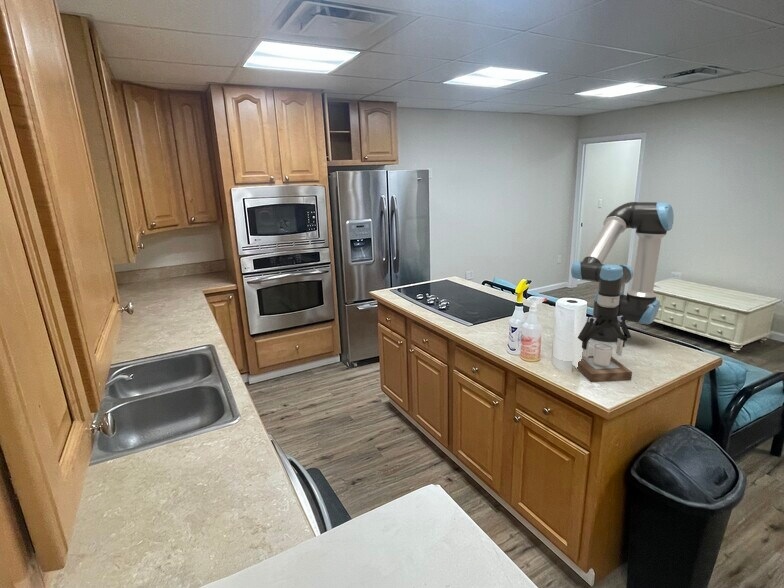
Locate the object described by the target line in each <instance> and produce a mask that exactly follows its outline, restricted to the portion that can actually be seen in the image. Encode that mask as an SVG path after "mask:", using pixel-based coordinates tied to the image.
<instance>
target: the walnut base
mask: <svg viewBox="0 0 784 588" xmlns="http://www.w3.org/2000/svg"><path fill="white" fill-rule="evenodd" d="M577 369H578V370H577ZM577 369H576V370H577V371H578V372H579V373H580V374H581V375H582V376H583V377H585V379H586V380H588V381H589V382H590V383H600V382H601V383H605V382H619V381H620V382H621V381H622V382H623V381H632V377H633V371H632V370H631V369H629V368H628V367H626V366H625V365H624V364H622V363H621V362H619V361H618V360H617V359H616V358H614V357H613V356H611V359H610V363H609V365H608V366H600V365H597V364H595V363H594V355H588V358H586V357H585V356H584V355H583V356H582V359H581V361H579V362H578V367H577Z"/></svg>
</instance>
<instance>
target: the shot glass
mask: <svg viewBox="0 0 784 588" xmlns="http://www.w3.org/2000/svg"><path fill="white" fill-rule="evenodd" d="M613 350H614V347H613V346H611V345H609V344H605V343H596V344H594V345H593V356H594V363H595V364H597V365H600V366H608V365H609V363H610V359H611V357H612V354H613Z"/></svg>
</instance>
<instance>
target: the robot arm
mask: <svg viewBox="0 0 784 588" xmlns="http://www.w3.org/2000/svg"><path fill="white" fill-rule="evenodd" d="M673 209H674V208H673V206H672V205H671V204H670V203H668V202H660V201H657V202H656V201H655V202H650V201H649V202H648V201H647V202H646V201H645V202H642V201H640V202H639V201H630V202H627V203H623V204H621V205H619V206H618V207H615V208H614V209H613V210H612V211H611V212H610V213H609V214H607V216H606V217H605V219H604V221H603V227H602V228H601V230H600V231H599V233H598V235H597V236H596V239H594V242H593V243H592V244H591V246H590V248H589V249H588V251H587V253H586V254H585V256H584V258H583V259H582V261H581V260H579V261H578V260H577V261H574V262H573V264H572V265H571V270H570V273H571V277H572V278H573V279H576V280H580V281H586V282H588V281H589V282H595V283H596V282H597V283H599V284H598V291H597V292H596V293H595V294H594V299H593V301H594V303H593V309H592V316H587V320H586V323H585V324H584V326H583V328H582V330H581V331H580V333H579V334H578V336H577V339H578V340H579V341H581V348H582V351H583V352H582V355H583V356H585V357H586V358H588V356H589V353H590V352H589V351H590V343H591V342H590V340H591V339H593V340H594V341H595V340H596V341H600V342H607V343H612V342H613V343H614V342H616V349H615V354H616V355H617V356H619V357H621V356H622V355H623V354H622V353H623V348H624V347H625V345H626V341H628V339H631V333H630V330H629V328H628V326H627V324H626V321H627V322H632V323H638V324H644V325H650V324H652V323H653V322H654V321H655V319H656V317H657V314H658V313H659V309H660V304H661V301H660V300H659V299H657V294H656V293H655V292H654V288H655V283H656V275H657V270H658V269H657V268H658V262H659V256H660V250H661V243H662V238H664V237H666V236H667V232H668V231H672V229H673V225H674V218H675V217H674V210H673ZM627 229H635V234H636V235H637V236H638V241H637V247H636V249H637V250H636V255H635V261H634V269H632V268H631V266H629V265H627V264H610V263H609V264H606V263H605V264H604V262H605V260H606V259H607V257H608V255H609V253H610V252H611V250H612V248H613V246H615V245H614V244H615V243H616V242H617V240H618V238H619V236H620V235H621V234H622V233H624V232H625V231H626V230H627ZM631 280H632V284H631V289H629V290H628V291H627V292H626V294H624V292H623V290H621V288H622V286H624V285H627V284H628V283H629V282H630V281H631Z"/></svg>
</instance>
